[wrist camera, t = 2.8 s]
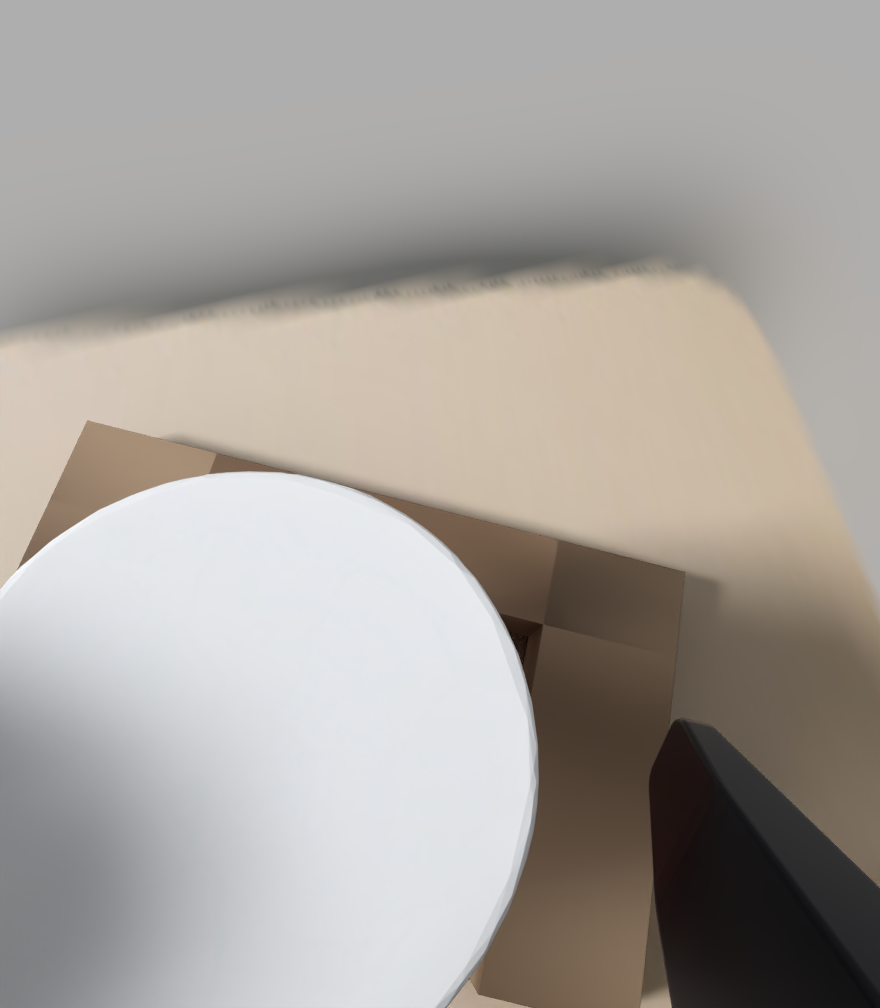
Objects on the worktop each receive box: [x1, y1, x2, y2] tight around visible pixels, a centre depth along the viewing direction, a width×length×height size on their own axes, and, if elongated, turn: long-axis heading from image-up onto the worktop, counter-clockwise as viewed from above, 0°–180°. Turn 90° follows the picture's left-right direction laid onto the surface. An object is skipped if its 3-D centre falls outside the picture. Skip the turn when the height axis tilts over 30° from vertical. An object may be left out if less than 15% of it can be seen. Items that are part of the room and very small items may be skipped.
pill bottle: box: [0, 471, 539, 1008], centre depth 11 cm, size 6×6×11 cm
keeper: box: [17, 421, 685, 1008], centre depth 16 cm, size 9×14×2 cm, turn 77°
